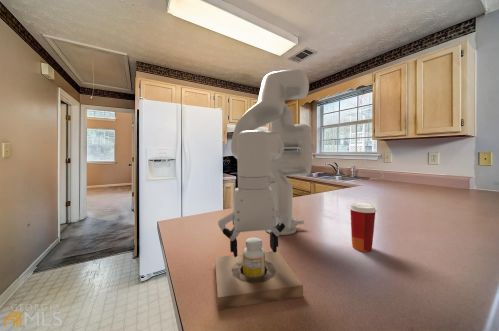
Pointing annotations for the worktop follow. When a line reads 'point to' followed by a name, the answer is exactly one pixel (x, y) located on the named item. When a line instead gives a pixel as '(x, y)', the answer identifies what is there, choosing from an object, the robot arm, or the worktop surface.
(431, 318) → the worktop surface
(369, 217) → the paper cup
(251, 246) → the supplement bottle
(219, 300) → the seat board
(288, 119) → the robot arm
